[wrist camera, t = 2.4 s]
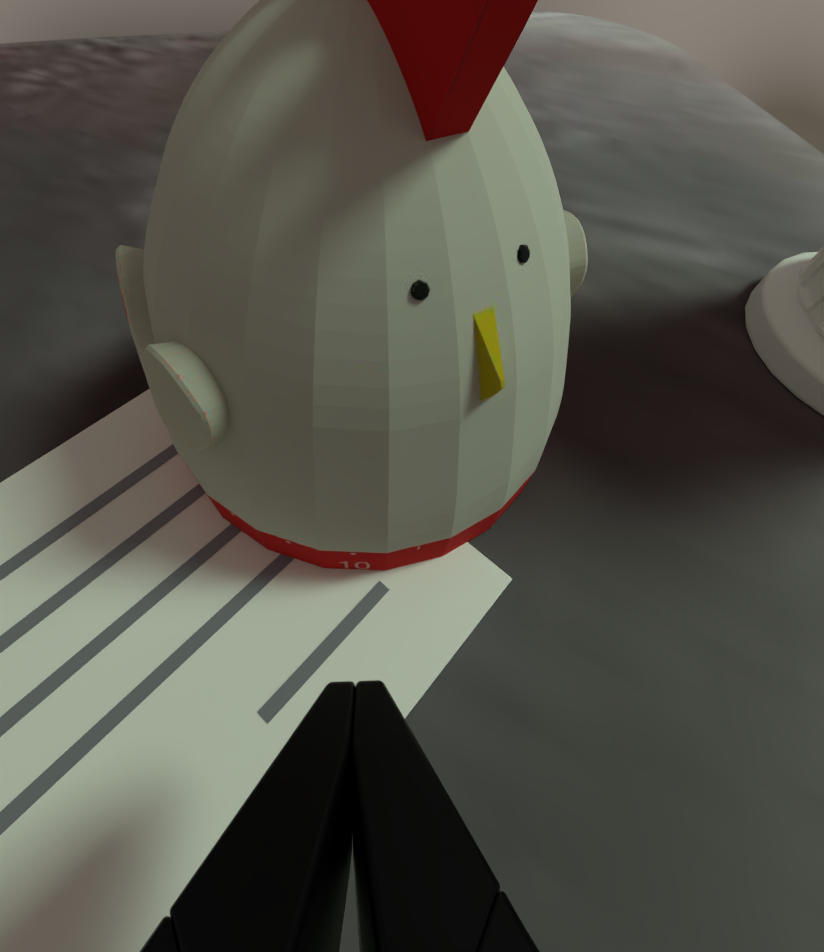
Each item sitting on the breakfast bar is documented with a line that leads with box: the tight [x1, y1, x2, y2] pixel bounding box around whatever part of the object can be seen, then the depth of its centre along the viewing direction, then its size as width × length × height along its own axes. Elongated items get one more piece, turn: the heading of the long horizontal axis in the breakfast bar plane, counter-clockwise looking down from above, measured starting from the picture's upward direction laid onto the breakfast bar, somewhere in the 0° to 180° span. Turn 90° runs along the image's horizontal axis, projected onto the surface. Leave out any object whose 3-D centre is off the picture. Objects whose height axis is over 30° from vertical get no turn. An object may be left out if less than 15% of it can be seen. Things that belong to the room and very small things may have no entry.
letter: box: [0, 389, 512, 952], centre depth 13 cm, size 19×15×1 cm
